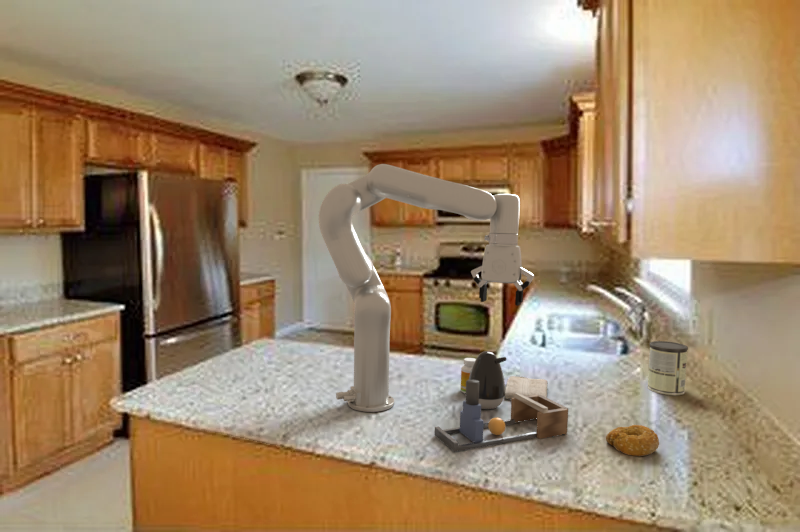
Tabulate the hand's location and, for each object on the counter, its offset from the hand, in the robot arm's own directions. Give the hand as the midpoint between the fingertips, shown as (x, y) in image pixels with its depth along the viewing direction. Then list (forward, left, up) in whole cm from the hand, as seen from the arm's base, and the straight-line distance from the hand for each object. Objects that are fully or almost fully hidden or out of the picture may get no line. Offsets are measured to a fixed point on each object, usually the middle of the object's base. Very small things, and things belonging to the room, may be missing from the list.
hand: (500, 303), depth 138 cm
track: (-15, -18, -28) cm, 36 cm away
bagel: (+13, -34, -29) cm, 46 cm away
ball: (-12, -18, -26) cm, 34 cm away
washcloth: (+14, +5, -29) cm, 33 cm away
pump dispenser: (-4, -1, -28) cm, 29 cm away
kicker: (-19, -18, -28) cm, 38 cm away
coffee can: (+56, -8, -28) cm, 63 cm away
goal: (0, -18, -28) cm, 33 cm away
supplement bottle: (-2, +11, -28) cm, 31 cm away
